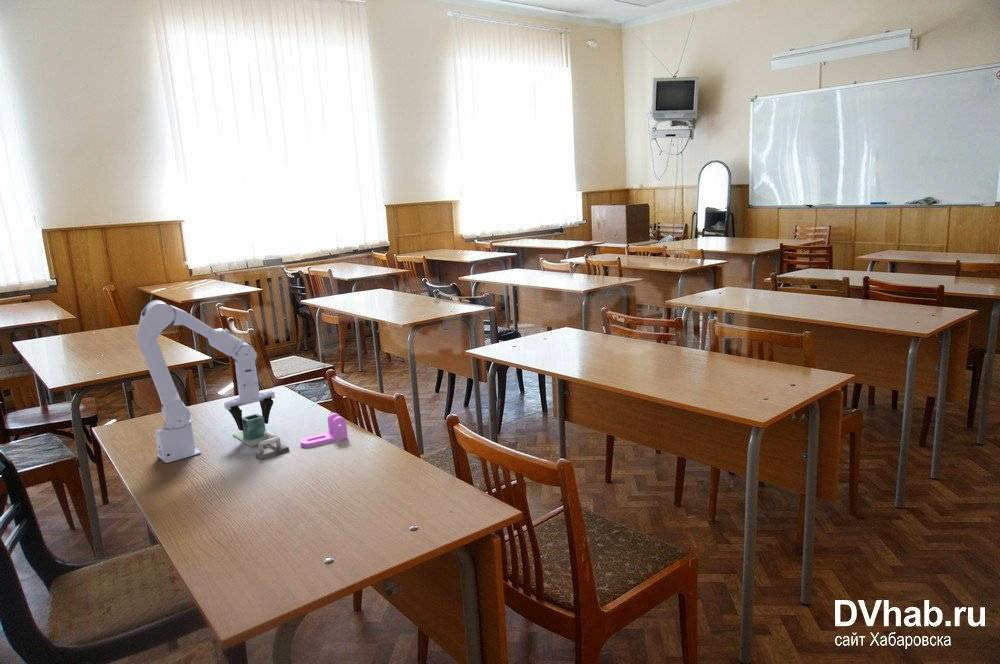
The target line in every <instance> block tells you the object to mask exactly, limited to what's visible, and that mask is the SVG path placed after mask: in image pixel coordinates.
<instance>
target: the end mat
mask: <svg viewBox="0 0 1000 664" xmlns="http://www.w3.org/2000/svg"><path fill="white" fill-rule="evenodd" d="M232 437H234V438H236V439H238V440H239V441H241V442H242V443H244V444H246V445H248V446H249V447H250V448H252V447H256V446H258V444H259V443H258V441H262V440H265V438H264V437H261V438H257V439H254V440H248V439H247V438H245V437H243V431H240V432H237V433H233V434H232ZM269 438H271V437H269Z"/></svg>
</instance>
